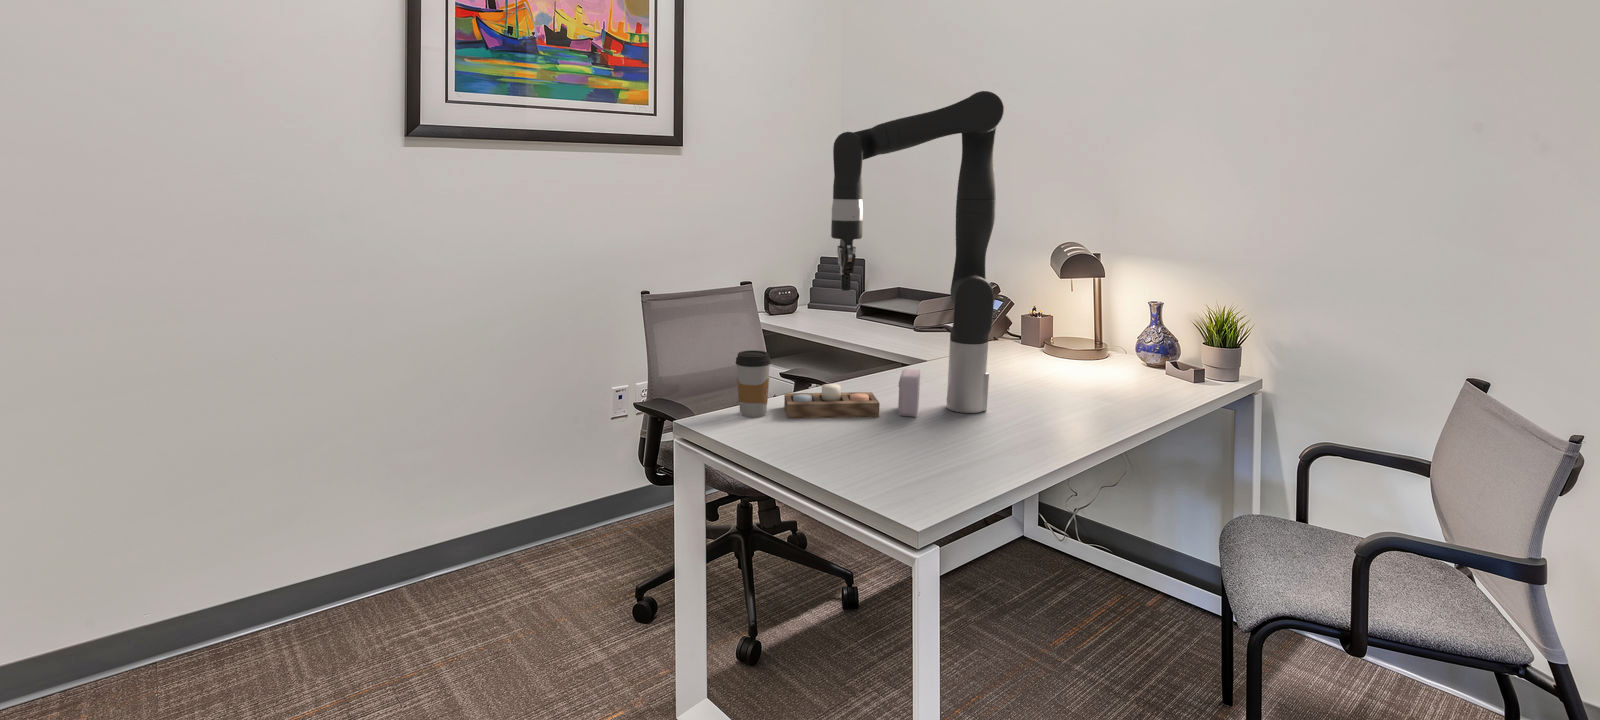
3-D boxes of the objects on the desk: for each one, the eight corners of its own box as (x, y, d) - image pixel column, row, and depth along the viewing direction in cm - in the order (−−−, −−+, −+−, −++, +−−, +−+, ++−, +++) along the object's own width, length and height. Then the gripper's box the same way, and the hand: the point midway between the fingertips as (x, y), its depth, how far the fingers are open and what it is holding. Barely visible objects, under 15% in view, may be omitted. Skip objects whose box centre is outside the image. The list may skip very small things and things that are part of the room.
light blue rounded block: (810, 406, 194) (810, 393, 193) (812, 411, 189) (812, 398, 189) (792, 406, 193) (792, 394, 193) (793, 412, 189) (793, 399, 188)
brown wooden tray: (871, 405, 198) (871, 392, 197) (879, 417, 188) (879, 402, 188) (784, 406, 196) (784, 393, 195) (787, 418, 186) (787, 404, 186)
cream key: (839, 396, 194) (839, 383, 193) (841, 401, 190) (842, 388, 189) (820, 396, 194) (820, 383, 193) (822, 401, 189) (823, 388, 188)
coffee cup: (765, 420, 185) (765, 358, 181) (731, 418, 186) (731, 356, 183) (774, 410, 193) (774, 351, 189) (741, 408, 194) (740, 349, 191)
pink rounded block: (866, 405, 195) (867, 393, 195) (870, 410, 191) (870, 398, 190) (848, 405, 195) (848, 393, 194) (851, 411, 190) (851, 398, 190)
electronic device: (900, 405, 198) (901, 367, 196) (918, 407, 197) (920, 368, 195) (896, 417, 189) (898, 376, 187) (916, 418, 188) (918, 377, 186)
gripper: (867, 220, 183) (865, 293, 187) (857, 217, 196) (856, 286, 200) (835, 219, 182) (834, 293, 186) (828, 217, 195) (826, 286, 199)
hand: (845, 290), depth 193 cm, fingers closed
